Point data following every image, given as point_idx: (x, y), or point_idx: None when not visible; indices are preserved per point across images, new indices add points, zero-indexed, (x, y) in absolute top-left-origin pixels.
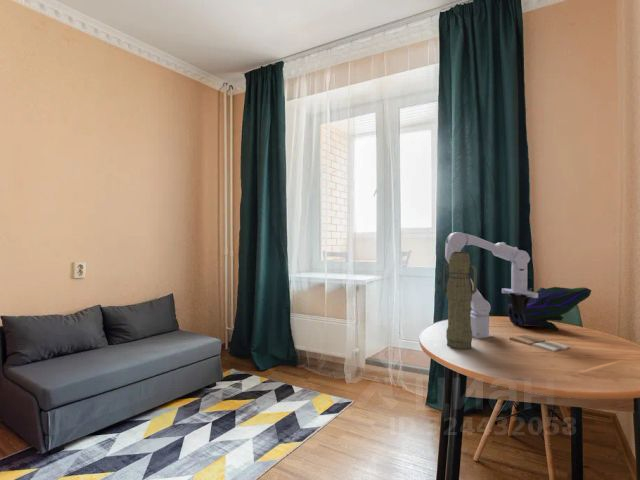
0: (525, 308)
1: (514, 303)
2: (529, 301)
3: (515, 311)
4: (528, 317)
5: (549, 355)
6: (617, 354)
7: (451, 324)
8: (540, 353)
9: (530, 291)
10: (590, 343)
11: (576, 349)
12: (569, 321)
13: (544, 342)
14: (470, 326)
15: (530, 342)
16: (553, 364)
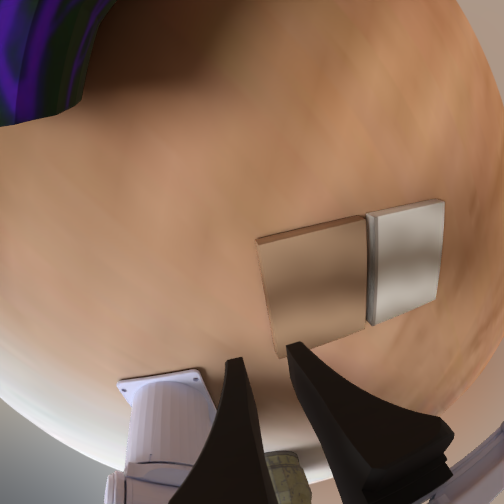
0: (329, 367)
1: (267, 467)
2: None
3: (253, 398)
4: (82, 73)
5: (429, 317)
6: (487, 106)
7: None
8: (410, 330)
9: (495, 497)
10: (401, 27)
11: (441, 171)
12: None
13: (384, 257)
14: (305, 498)
15: (360, 316)
16: (450, 347)
